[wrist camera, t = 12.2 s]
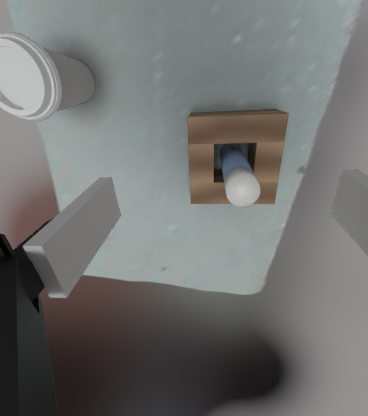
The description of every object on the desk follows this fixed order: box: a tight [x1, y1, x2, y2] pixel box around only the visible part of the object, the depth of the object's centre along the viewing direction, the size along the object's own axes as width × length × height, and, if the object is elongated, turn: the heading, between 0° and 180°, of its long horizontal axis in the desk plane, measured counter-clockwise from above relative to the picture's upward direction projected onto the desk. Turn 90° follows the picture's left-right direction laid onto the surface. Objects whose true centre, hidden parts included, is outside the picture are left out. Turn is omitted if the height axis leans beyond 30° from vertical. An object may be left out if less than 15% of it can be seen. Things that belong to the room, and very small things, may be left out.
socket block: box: [188, 109, 289, 204], centre depth 40 cm, size 14×14×7 cm
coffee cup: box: [0, 32, 95, 121], centre depth 33 cm, size 10×10×15 cm
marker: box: [220, 143, 260, 207], centre depth 35 cm, size 4×4×18 cm
